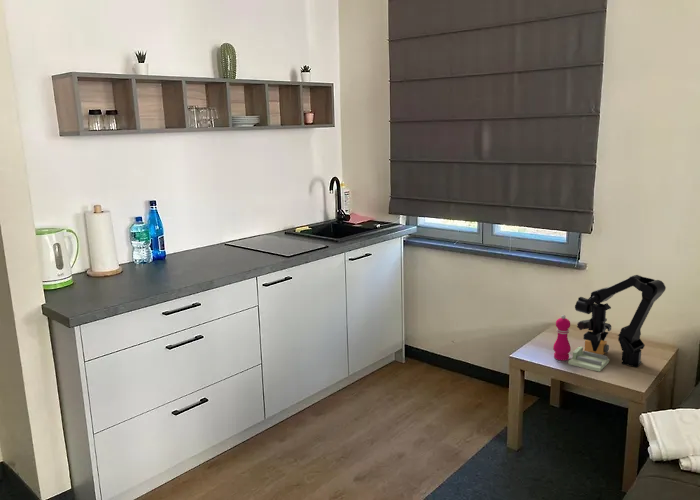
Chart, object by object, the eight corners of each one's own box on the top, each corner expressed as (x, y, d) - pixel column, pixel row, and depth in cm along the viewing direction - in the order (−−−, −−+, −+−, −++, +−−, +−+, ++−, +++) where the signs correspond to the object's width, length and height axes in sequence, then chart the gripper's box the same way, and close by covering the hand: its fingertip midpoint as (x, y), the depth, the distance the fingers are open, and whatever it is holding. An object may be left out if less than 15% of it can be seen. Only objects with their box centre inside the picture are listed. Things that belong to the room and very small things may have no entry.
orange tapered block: (608, 352, 262) (609, 342, 260) (605, 355, 258) (606, 345, 257) (588, 347, 268) (588, 337, 266) (584, 350, 264) (585, 340, 263)
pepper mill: (557, 353, 263) (559, 311, 259) (573, 357, 258) (575, 314, 253) (549, 358, 258) (551, 315, 254) (565, 362, 253) (567, 319, 249)
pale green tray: (608, 361, 252) (609, 352, 251) (599, 371, 243) (600, 361, 242) (578, 354, 260) (579, 345, 259) (568, 363, 252) (568, 354, 251)
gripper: (587, 307, 271) (586, 339, 275) (572, 319, 258) (570, 352, 261) (612, 312, 264) (610, 344, 268) (598, 324, 250) (596, 358, 254)
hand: (596, 349), depth 263 cm, fingers closed on orange tapered block, 4 cm apart
